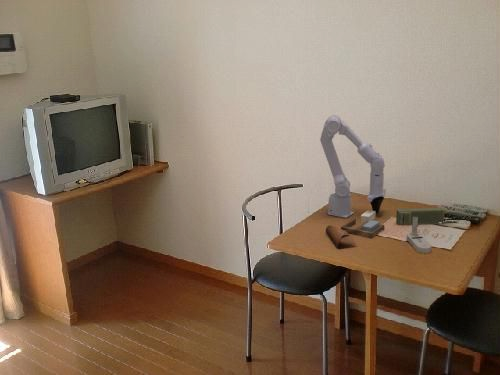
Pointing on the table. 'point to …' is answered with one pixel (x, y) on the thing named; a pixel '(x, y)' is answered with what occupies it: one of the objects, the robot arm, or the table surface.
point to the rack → (359, 229)
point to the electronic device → (418, 239)
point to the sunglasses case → (340, 237)
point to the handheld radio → (421, 216)
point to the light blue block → (371, 226)
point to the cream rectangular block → (368, 216)
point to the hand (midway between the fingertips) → (375, 212)
